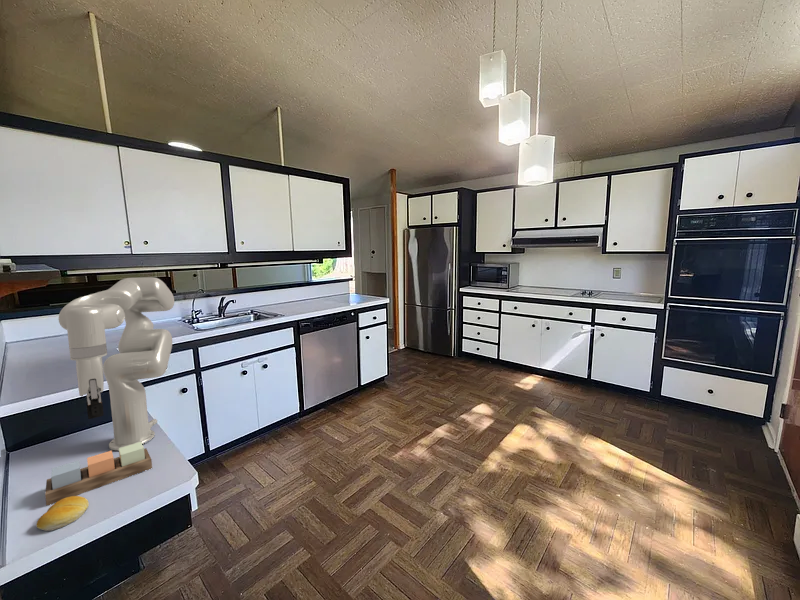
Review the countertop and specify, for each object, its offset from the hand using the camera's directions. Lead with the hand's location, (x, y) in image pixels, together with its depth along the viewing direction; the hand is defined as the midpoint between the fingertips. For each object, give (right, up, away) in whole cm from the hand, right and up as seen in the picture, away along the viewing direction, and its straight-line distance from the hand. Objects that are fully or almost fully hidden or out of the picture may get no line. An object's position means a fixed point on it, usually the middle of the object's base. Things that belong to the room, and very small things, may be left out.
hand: (95, 414), depth 94 cm
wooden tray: (0, -19, +2) cm, 19 cm away
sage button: (+5, -16, +6) cm, 18 cm away
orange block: (0, -17, +2) cm, 17 cm away
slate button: (-5, -17, -3) cm, 18 cm away
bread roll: (+4, -21, -13) cm, 25 cm away
